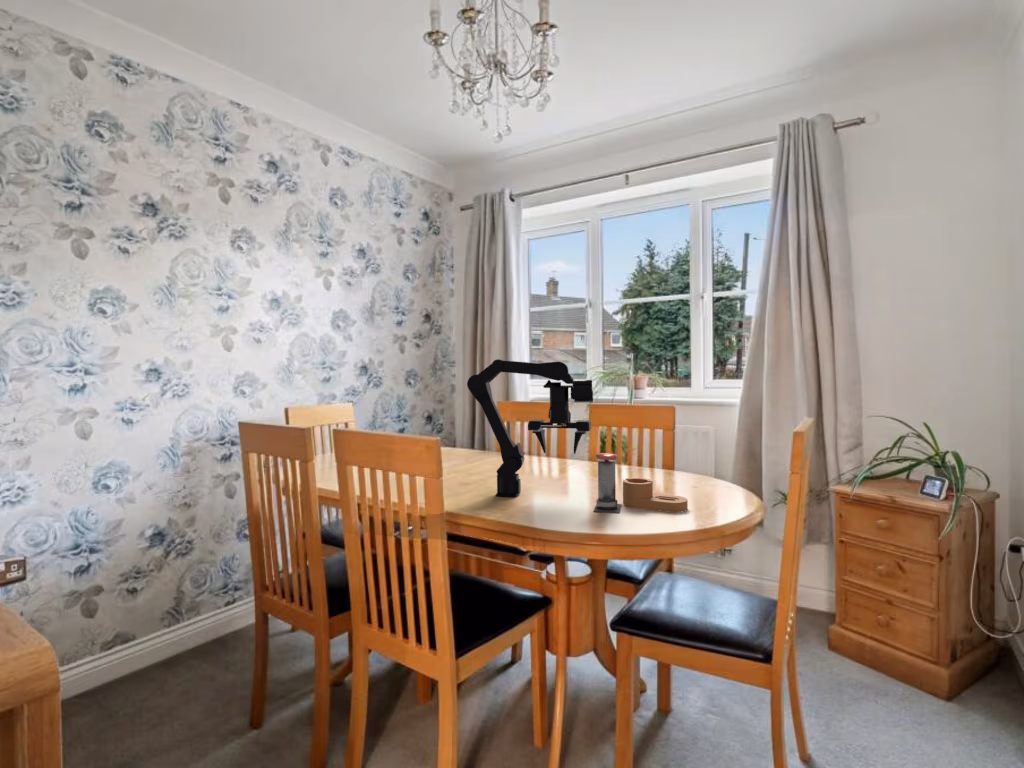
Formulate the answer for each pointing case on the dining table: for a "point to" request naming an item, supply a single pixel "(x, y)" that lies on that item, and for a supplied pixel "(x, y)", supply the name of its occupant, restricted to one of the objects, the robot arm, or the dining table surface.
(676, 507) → the bracket
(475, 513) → the dining table surface
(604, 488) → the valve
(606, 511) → the dark grey rectangular plate
